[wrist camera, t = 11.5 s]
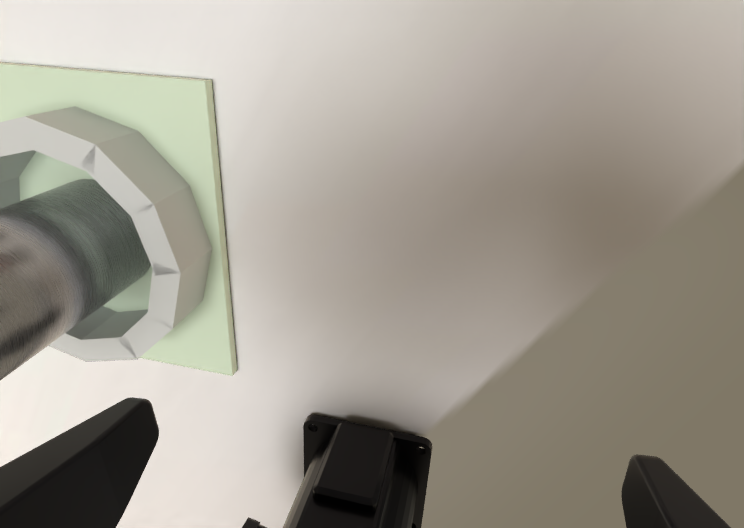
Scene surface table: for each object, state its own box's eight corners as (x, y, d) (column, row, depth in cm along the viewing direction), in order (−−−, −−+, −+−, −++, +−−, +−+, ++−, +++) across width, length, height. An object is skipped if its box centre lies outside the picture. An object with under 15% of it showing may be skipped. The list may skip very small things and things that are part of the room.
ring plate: (237, 370, 26) (207, 409, 23) (36, 330, 28) (-13, 363, 25) (211, 80, 19) (166, 89, 17) (-46, 58, 22) (-121, 63, 19)
